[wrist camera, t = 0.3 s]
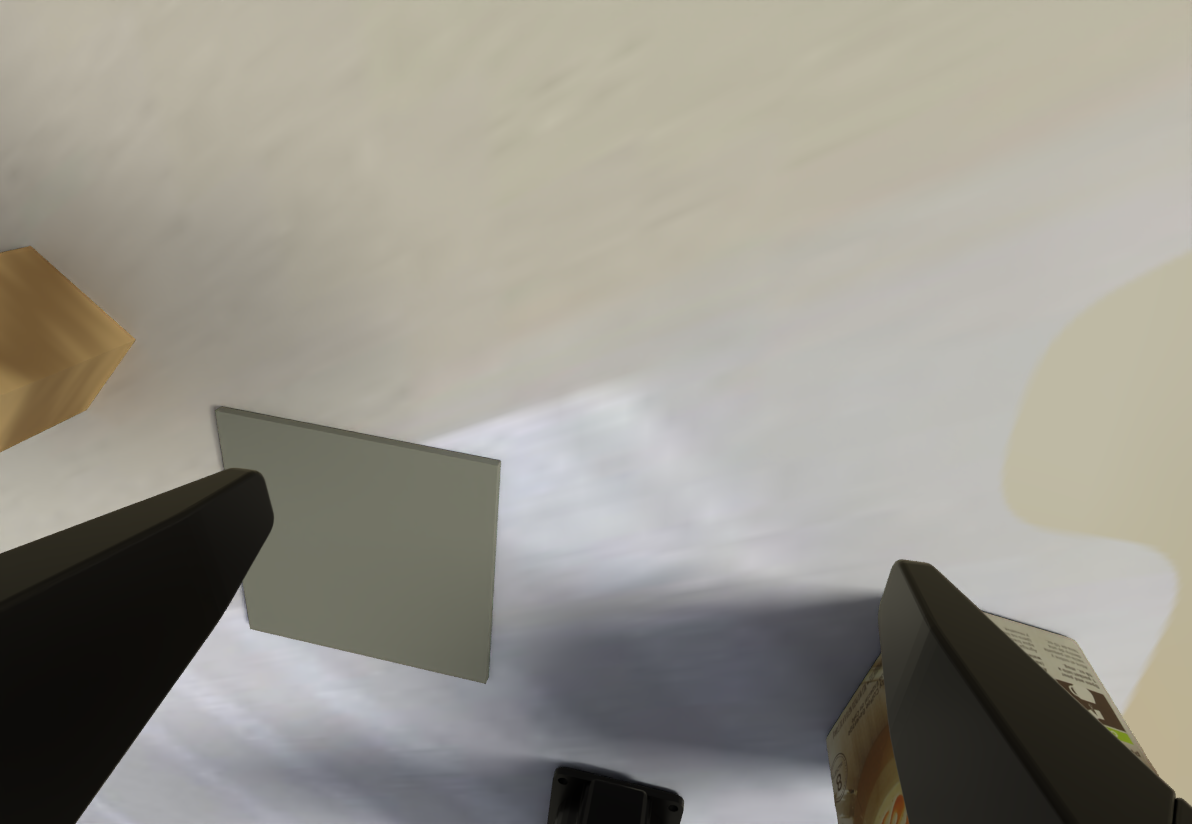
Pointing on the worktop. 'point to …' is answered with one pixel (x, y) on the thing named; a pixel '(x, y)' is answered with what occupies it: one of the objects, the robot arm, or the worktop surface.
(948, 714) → the robot arm
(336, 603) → the slate mat
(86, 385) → the oak block
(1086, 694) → the coffee box
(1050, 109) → the worktop surface
